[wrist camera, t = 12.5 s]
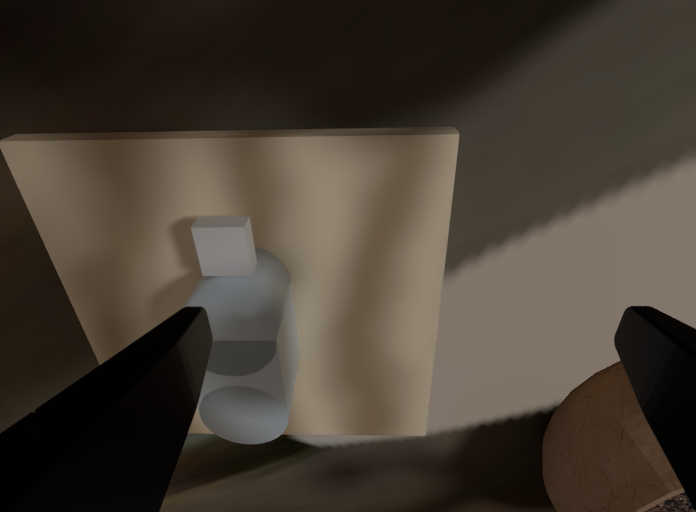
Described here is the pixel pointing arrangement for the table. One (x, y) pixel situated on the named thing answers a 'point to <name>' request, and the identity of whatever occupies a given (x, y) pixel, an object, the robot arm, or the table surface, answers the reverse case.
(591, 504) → the potted plant
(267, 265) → the usb stick
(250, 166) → the birch board
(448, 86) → the table surface
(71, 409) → the robot arm
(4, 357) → the table surface
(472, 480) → the table surface
